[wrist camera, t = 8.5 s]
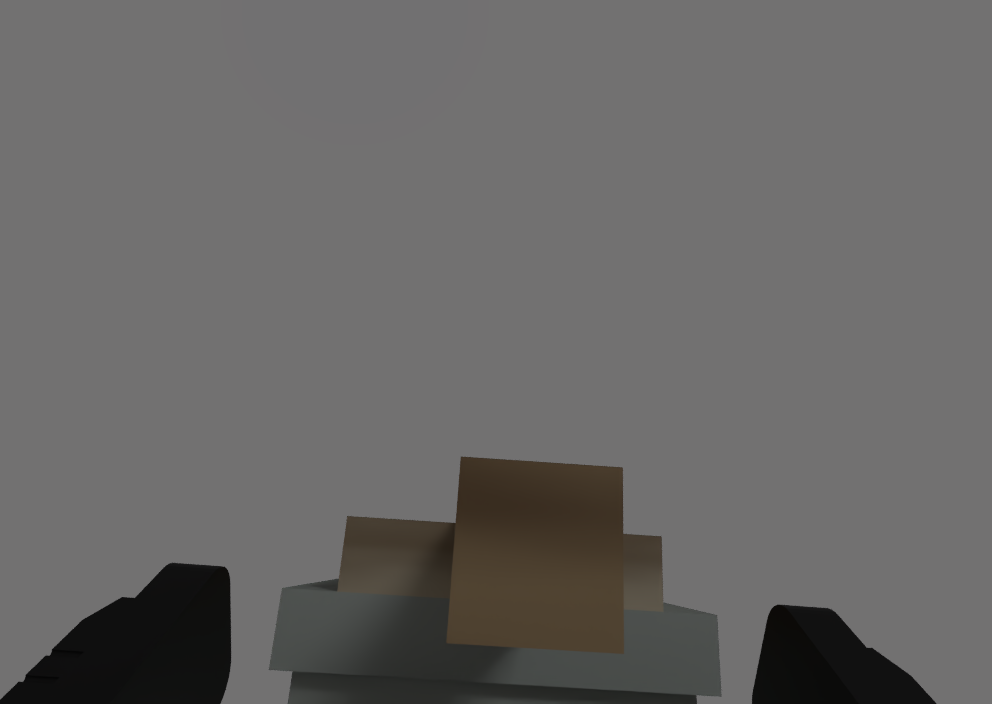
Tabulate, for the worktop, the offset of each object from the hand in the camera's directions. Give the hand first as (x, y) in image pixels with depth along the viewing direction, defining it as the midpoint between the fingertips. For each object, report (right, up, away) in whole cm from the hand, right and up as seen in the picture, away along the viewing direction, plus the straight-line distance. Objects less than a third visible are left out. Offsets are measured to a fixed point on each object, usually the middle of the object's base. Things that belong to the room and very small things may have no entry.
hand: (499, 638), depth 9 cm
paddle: (0, -3, +9) cm, 10 cm away
